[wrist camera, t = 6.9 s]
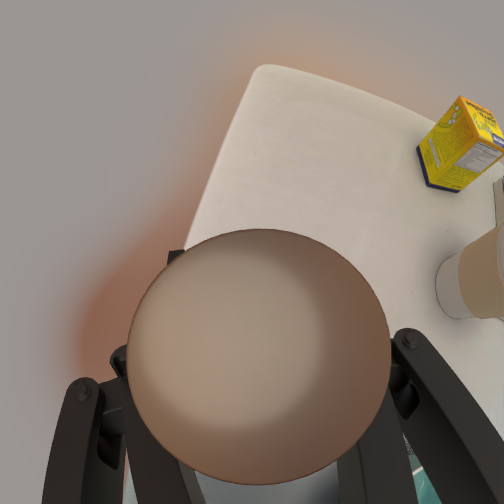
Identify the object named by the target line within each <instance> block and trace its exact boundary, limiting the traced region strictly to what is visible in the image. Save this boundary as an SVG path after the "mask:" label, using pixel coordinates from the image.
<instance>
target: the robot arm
mask: <svg viewBox="0 0 504 504" xmlns="http://www.w3.org/2000/svg"><path fill="white" fill-rule="evenodd" d="M183 252H185V250H184V249H182V250H175V251H169V255H168V261H167V265H168V264H169V263H171V262H172V261H173V260H174V259H175V258H176V257H178V256H179V255H181V254H182V253H183ZM390 341H391V369H390V377H389V382H388V386H387V389H386V393H385V396H384V399H383V401H382V404H381V406H380V409H379V411H378V412H377V414H376V416H375V418H374V420H373V422H372V423H371V425H370V426H369V427H368V429H367V430H366V432H365V433H364V434H363V436H362V437H361V438H360V439H359V440H358V441H357V442H356V443H355V444H354V445H353V447H352V448H351V449H349V450H348V451H347V452H346V453H345V454H343V455H342V456H341V457H340V458H339V459H337V468H338V477H339V487H340V497H341V504H419V503H418V498H417V493H416V488H415V483H414V478H413V474H412V469H411V465H410V461H409V456H408V452H407V448H406V444H405V441H404V437H403V433H404V435H405V437H406V439H407V440H408V442H409V444H410V446H411V448H412V449H413V451H414V453H415V455H416V456H417V458H418V460H419V462H420V464H421V466H422V467H423V469H424V471H425V473H426V475H427V477H428V478H429V480H430V482H431V484H432V486H433V488H434V490H435V492H436V493H437V495H438V497H439V499H440V501H441V503H442V504H504V441H503V440H502V438H501V437H500V435H499V433H498V432H497V430H496V429H495V427H494V426H493V425H492V423H491V422H490V420H489V419H488V417H487V416H486V414H485V413H484V412H483V410H482V409H481V407H480V406H479V405H478V403H477V402H476V400H475V399H474V398H473V396H472V395H471V394H470V392H469V391H468V390H467V388H466V387H465V386H464V384H463V383H462V382H461V380H460V379H459V378H458V376H457V375H456V374H455V373H454V371H453V370H452V369H451V367H450V366H449V365H448V364H447V362H446V361H445V360H444V359H443V357H442V356H441V355H440V354H439V353H438V351H437V350H436V349H435V348H434V346H433V345H432V344H431V343H430V342H429V340H428V339H427V338H426V337H425V336H424V335H423V334H422V333H421V332H420V331H418V330H415V329H412V328H404V329H401V330H399V331H397V332H396V334H395V336H394V338H393V339H390ZM126 349H127V344H126V345H124V346H121V347H119V348H118V349H117V350H115V351H114V353H113V354H112V355H111V358H110V364H111V366H112V368H113V369H114V371H115V372H116V374H117V376H118V377H117V378H115V379H113V380H110V381H107V382H103V383H100V384H98V383H97V382H96V381H95V380H93V379H92V378H88V377H84V378H79V379H77V380H75V381H74V382H72V383H71V384H70V386H69V387H68V389H67V392H66V395H65V398H64V401H63V405H62V408H61V412H60V415H59V419H58V422H57V426H56V430H55V434H54V439H53V442H52V447H51V451H50V456H49V461H48V466H47V471H46V477H45V483H44V490H43V496H42V504H122V499H123V480H124V466H125V456H126V447H127V453H128V459H129V464H130V470H131V475H132V480H133V484H134V489H135V493H136V497H137V501H138V504H206V502H205V500H204V497H203V494H202V492H201V489H200V486H199V483H198V481H197V478H196V475H195V472H194V469H192V468H190V467H188V466H187V465H185V464H184V463H182V462H181V461H179V460H178V459H176V458H175V457H174V456H173V455H172V454H170V453H169V452H168V451H167V450H166V449H165V448H164V447H163V446H162V445H161V444H160V443H159V442H158V441H157V440H156V438H155V437H154V436H153V435H152V434H151V432H150V431H149V429H148V428H147V426H146V425H145V423H144V421H143V420H142V418H141V416H140V414H139V412H138V410H137V408H136V405H135V403H134V400H133V397H132V394H131V390H130V387H129V382H128V375H127V368H126ZM402 432H403V433H402Z"/></svg>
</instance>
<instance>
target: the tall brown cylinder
mask: <svg viewBox="0 0 504 504" xmlns="http://www.w3.org/2000/svg"><path fill="white" fill-rule="evenodd" d="M126 368H127V375H128V382H129V387H130V390H131V394H132V397H133V400H134V403H135V405H136V408H137V410H138V412H139V414H140V416H141V418H142V420H143V421H144V423H145V425H146V426H147V428H148V429H149V431H150V432H151V434H152V435H153V436H154V437H155V438H156V440H157V441H158V442H159V443H160V444H161V445H162V446H163V447H164V448H165V449H166V450H167V451H168V452H169V453H170V454H172V455H173V456H174V457H175V458H176V459H178V460H179V461H181V462H182V463H184V464H185V465H187V466H188V467H190V468H192V469H194V470H196V471H198V472H200V473H202V474H204V475H206V476H209V477H212V478H215V479H218V480H221V481H225V482H230V483H235V484H243V485H272V484H279V483H284V482H289V481H293V480H296V479H299V478H303V477H306V476H308V475H310V474H313V473H315V472H317V471H319V470H321V469H323V468H325V467H326V466H328V465H330V464H331V463H333V462H334V461H336V460H337V459H339V458H340V457H341V456H342V455H343V454H345V453H346V452H347V451H348V450H349V449H351V448H352V447H353V445H354V444H355V443H356V442H357V441H358V440H359V439H360V438H361V437H362V436H363V434H364V433H365V432H366V430H367V429H368V427H369V426H370V425H371V423H372V422H373V420H374V418H375V416H376V414H377V412H378V411H379V409H380V406H381V404H382V401H383V399H384V396H385V393H386V389H387V386H388V382H389V377H390V369H391V341H390V334H389V329H388V325H387V321H386V318H385V314H384V312H383V309H382V307H381V305H380V302H379V300H378V298H377V296H376V295H375V293H374V291H373V290H372V288H371V286H370V285H369V283H368V282H367V281H366V280H365V278H364V277H363V276H362V274H361V273H360V272H359V271H358V270H357V269H356V268H355V267H354V266H353V265H352V264H351V263H350V262H349V261H348V260H346V259H345V258H344V257H343V256H341V255H340V254H339V253H337V252H336V251H334V250H333V249H331V248H329V247H328V246H326V245H324V244H323V243H320V242H318V241H316V240H313V239H311V238H309V237H306V236H303V235H300V234H296V233H293V232H288V231H282V230H276V229H247V230H238V231H233V232H229V233H225V234H221V235H218V236H215V237H213V238H210V239H207V240H205V241H203V242H201V243H199V244H197V245H195V246H193V247H191V248H189V249H188V250H186V251H185V252H183V253H182V254H181V255H179V256H178V257H176V258H175V259H174V260H173V261H172V262H171V263H169V264H168V265H167V266H166V267H165V268H164V269H163V270H162V271H161V272H160V273H159V275H158V276H157V277H156V278H155V279H154V280H153V282H152V283H151V284H150V286H149V287H148V289H147V290H146V292H145V294H144V295H143V297H142V299H141V301H140V303H139V305H138V307H137V310H136V311H135V314H134V316H133V320H132V323H131V327H130V330H129V335H128V342H127V349H126Z"/></svg>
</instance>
